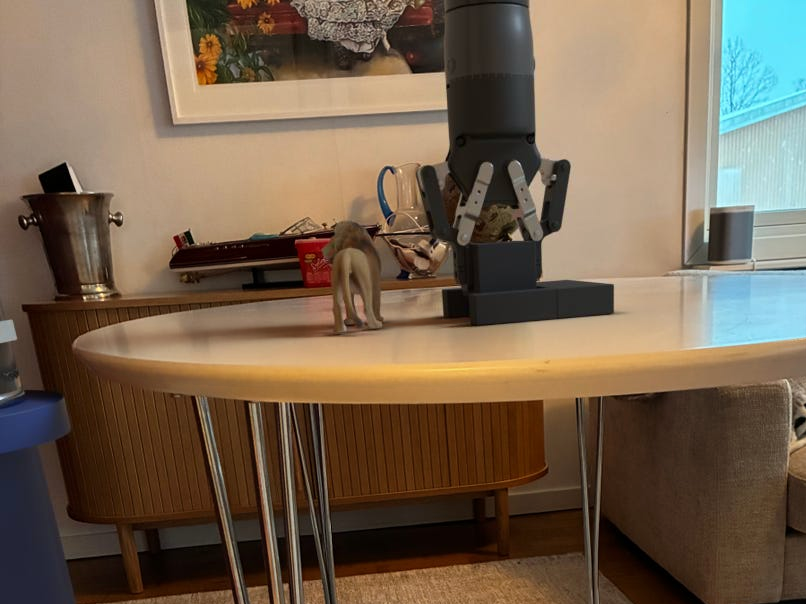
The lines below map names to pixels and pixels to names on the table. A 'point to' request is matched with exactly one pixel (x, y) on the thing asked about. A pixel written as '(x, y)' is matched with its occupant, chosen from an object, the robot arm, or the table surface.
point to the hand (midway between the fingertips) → (498, 287)
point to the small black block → (503, 266)
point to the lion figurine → (354, 275)
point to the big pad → (531, 302)
